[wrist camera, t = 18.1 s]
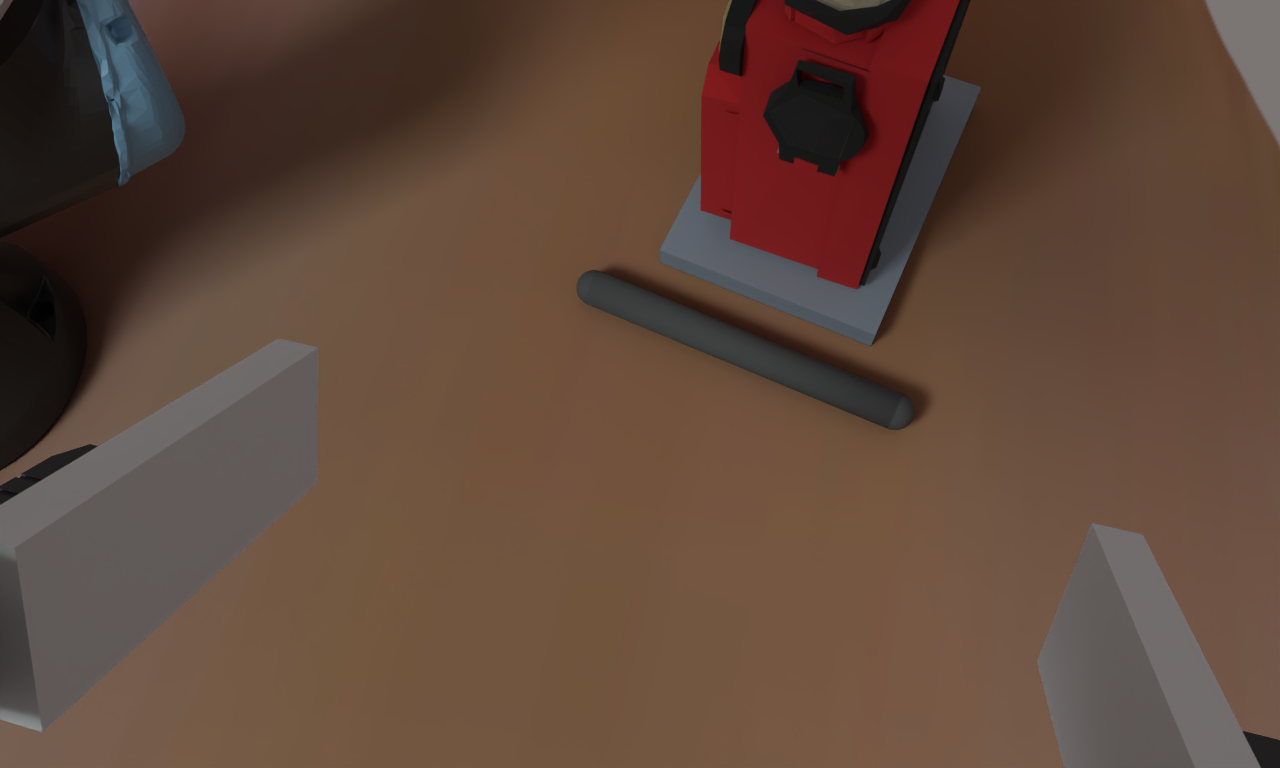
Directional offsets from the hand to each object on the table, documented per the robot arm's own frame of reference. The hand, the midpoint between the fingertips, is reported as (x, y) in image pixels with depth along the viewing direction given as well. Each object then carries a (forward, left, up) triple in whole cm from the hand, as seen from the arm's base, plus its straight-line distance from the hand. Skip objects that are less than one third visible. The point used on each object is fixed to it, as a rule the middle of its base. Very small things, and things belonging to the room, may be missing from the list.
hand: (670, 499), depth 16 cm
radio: (-5, +29, -33) cm, 44 cm away
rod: (-5, +17, -34) cm, 38 cm away
